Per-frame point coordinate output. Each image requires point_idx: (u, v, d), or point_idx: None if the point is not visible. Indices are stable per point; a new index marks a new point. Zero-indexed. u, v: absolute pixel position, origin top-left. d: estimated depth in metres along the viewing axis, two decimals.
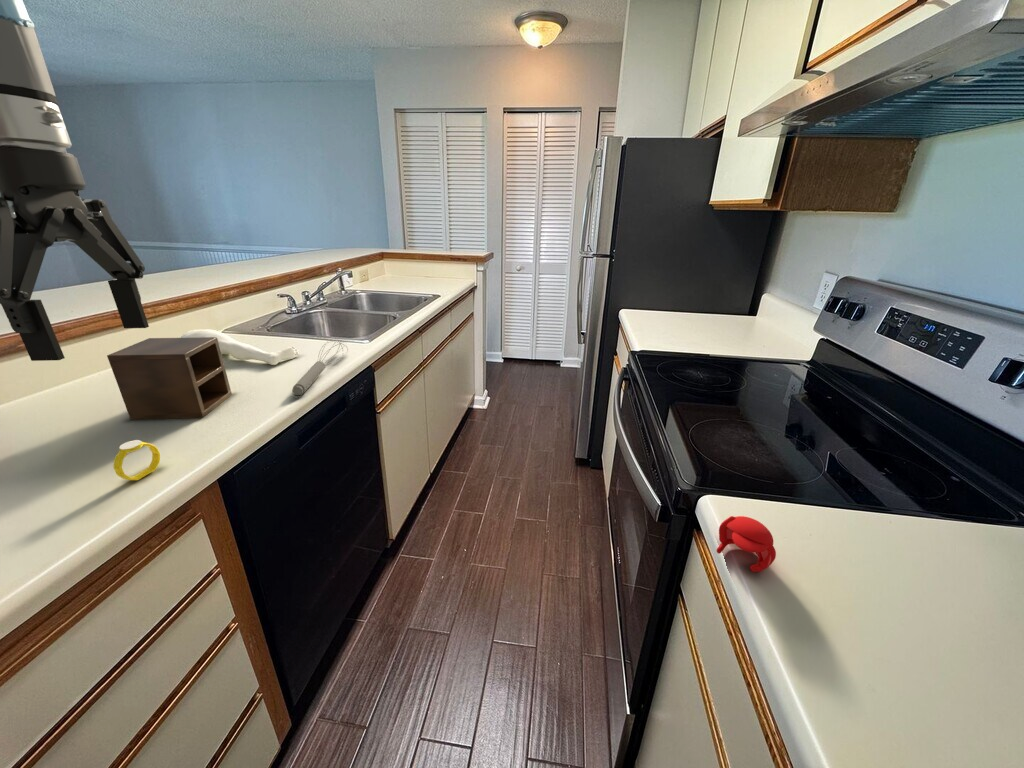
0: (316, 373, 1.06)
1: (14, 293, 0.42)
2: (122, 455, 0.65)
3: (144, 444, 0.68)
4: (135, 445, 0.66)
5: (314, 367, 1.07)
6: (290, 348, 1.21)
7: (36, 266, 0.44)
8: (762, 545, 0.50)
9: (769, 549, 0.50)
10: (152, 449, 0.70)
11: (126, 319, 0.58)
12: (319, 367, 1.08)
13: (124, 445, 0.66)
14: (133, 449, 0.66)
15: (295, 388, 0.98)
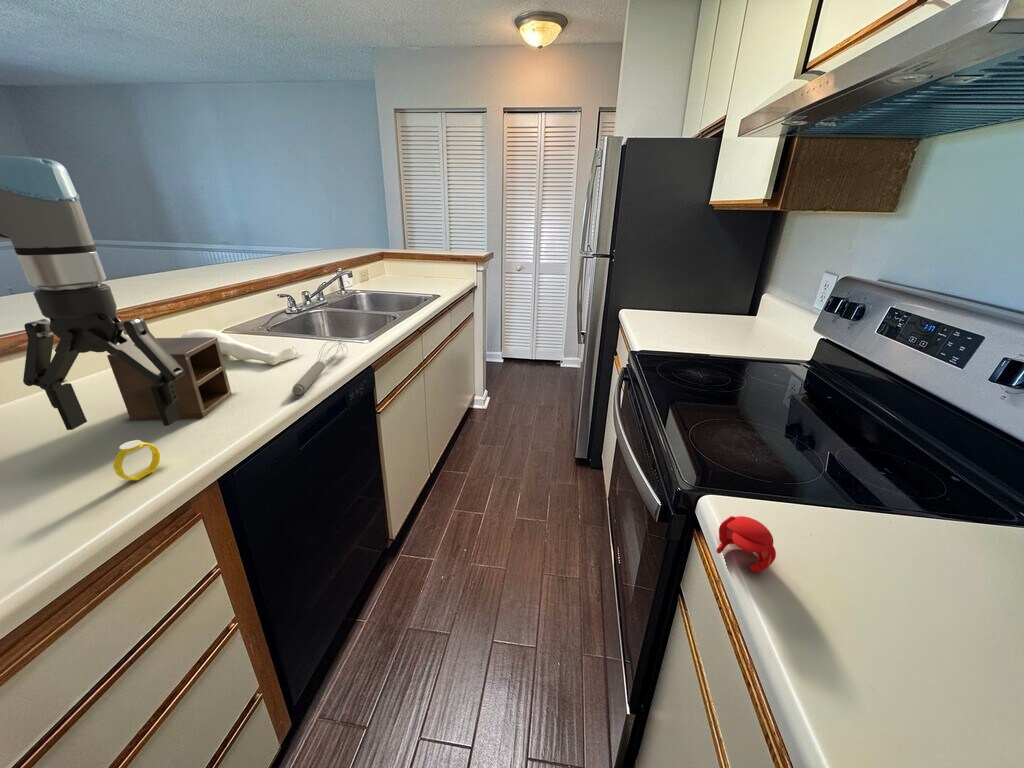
0: (316, 373, 1.06)
1: None
2: (122, 455, 0.65)
3: (144, 444, 0.68)
4: (135, 445, 0.66)
5: (314, 367, 1.07)
6: (290, 348, 1.21)
7: None
8: (762, 545, 0.50)
9: (769, 549, 0.50)
10: (152, 449, 0.70)
11: (73, 420, 0.64)
12: (319, 367, 1.08)
13: (124, 445, 0.66)
14: (133, 449, 0.66)
15: (295, 388, 0.98)
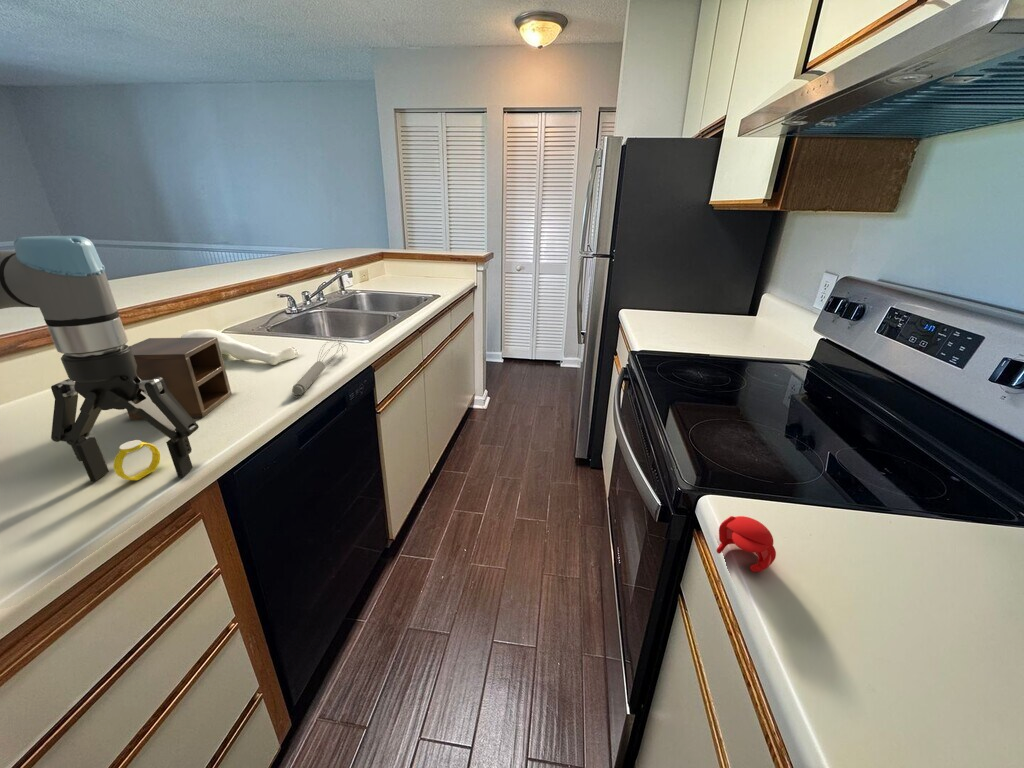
0: (316, 373, 1.06)
1: None
2: (122, 455, 0.65)
3: (144, 444, 0.68)
4: (135, 445, 0.66)
5: (314, 367, 1.07)
6: (290, 348, 1.21)
7: None
8: (762, 545, 0.50)
9: (769, 549, 0.50)
10: (152, 449, 0.70)
11: (96, 472, 0.67)
12: (318, 367, 1.08)
13: (124, 445, 0.66)
14: (133, 449, 0.66)
15: (295, 388, 0.98)
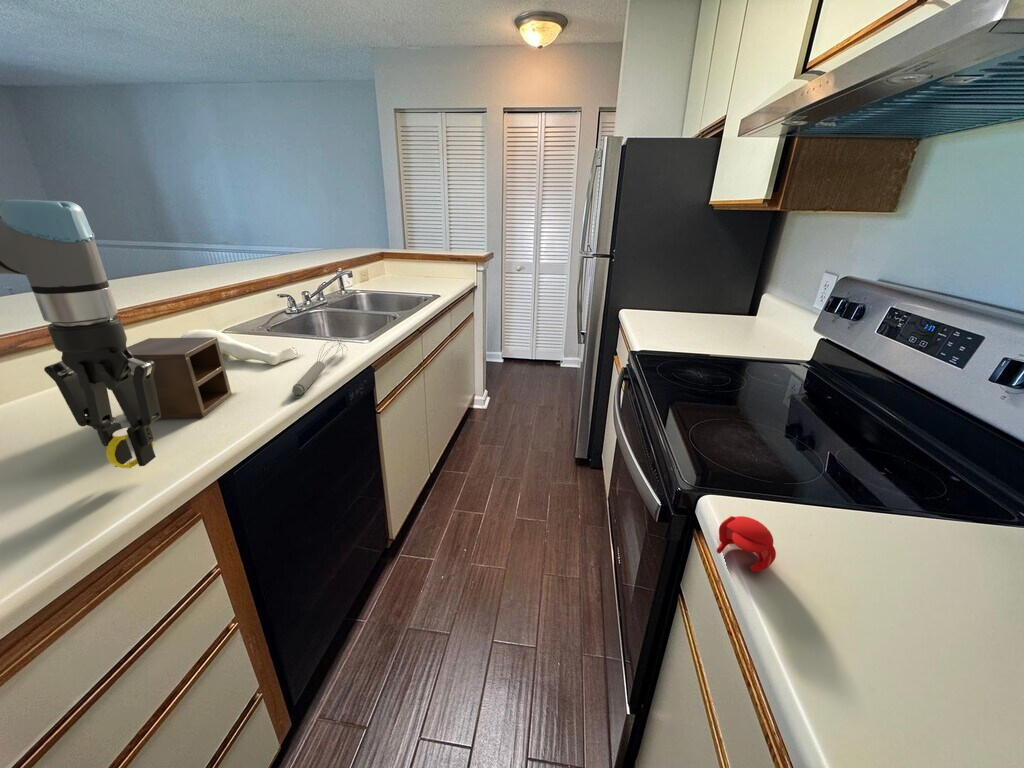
0: (316, 373, 1.06)
1: None
2: (115, 442, 0.64)
3: None
4: None
5: (314, 367, 1.07)
6: (290, 348, 1.21)
7: None
8: (762, 545, 0.50)
9: (769, 549, 0.50)
10: None
11: (121, 457, 0.67)
12: (318, 367, 1.08)
13: (117, 432, 0.65)
14: (127, 437, 0.65)
15: (295, 388, 0.98)
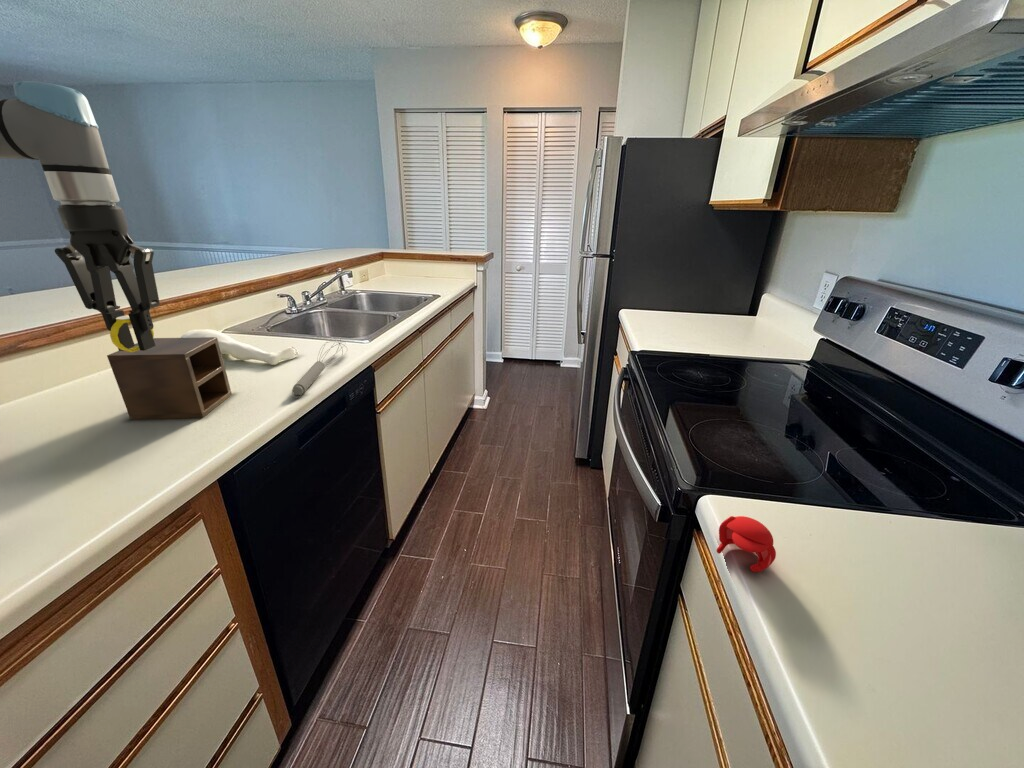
0: (316, 373, 1.06)
1: None
2: (118, 324, 0.71)
3: None
4: None
5: (314, 367, 1.07)
6: (290, 348, 1.21)
7: None
8: (762, 545, 0.50)
9: (769, 549, 0.50)
10: None
11: (124, 342, 0.73)
12: (318, 367, 1.08)
13: (120, 317, 0.72)
14: (129, 321, 0.71)
15: (295, 388, 0.98)
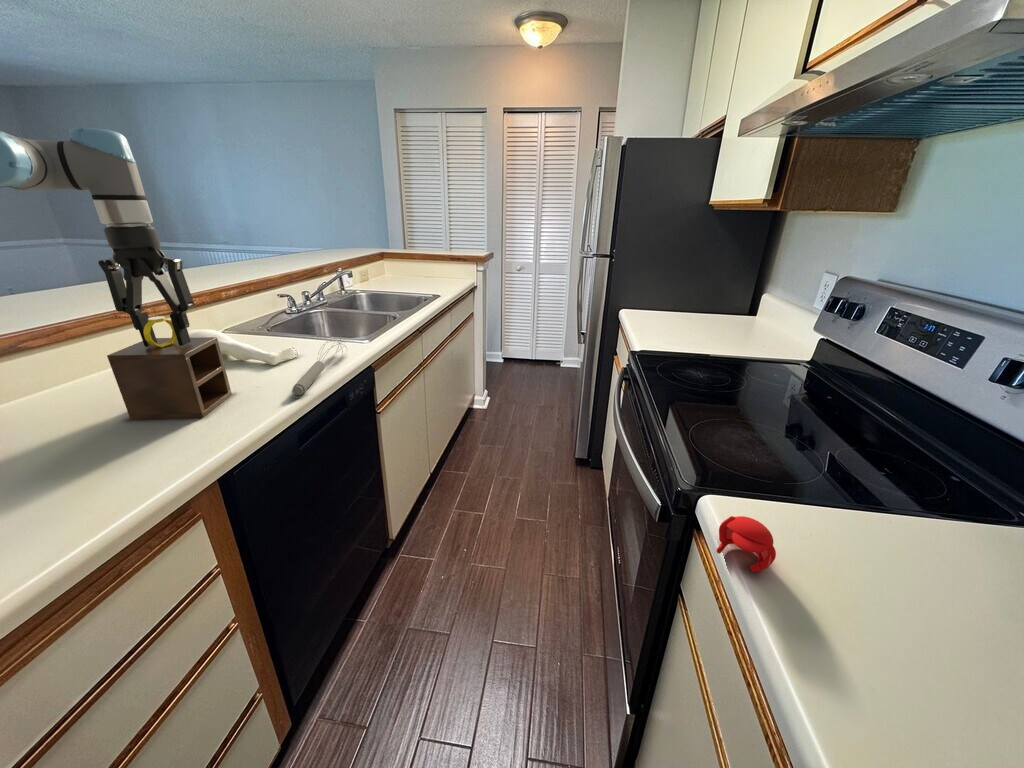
0: (316, 373, 1.06)
1: None
2: (150, 324, 0.84)
3: (166, 319, 0.87)
4: (160, 318, 0.85)
5: (314, 367, 1.07)
6: (290, 348, 1.21)
7: None
8: (762, 545, 0.50)
9: (769, 549, 0.50)
10: (172, 326, 0.88)
11: None
12: (318, 367, 1.08)
13: (151, 318, 0.85)
14: (158, 321, 0.85)
15: (295, 388, 0.98)
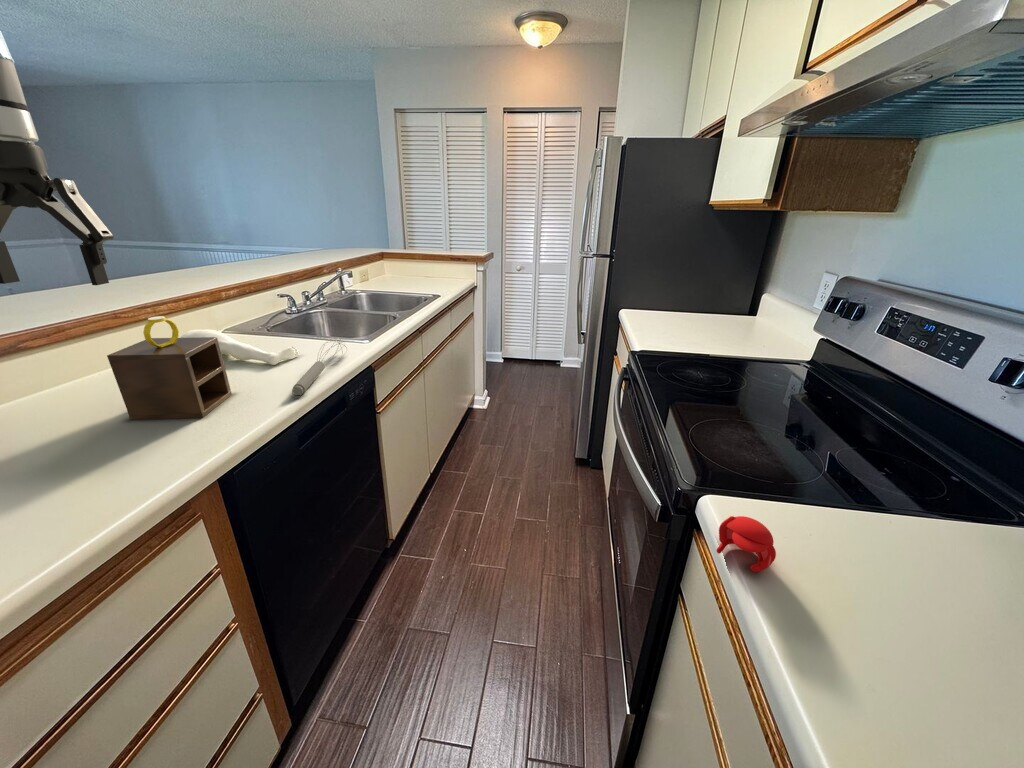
0: (316, 373, 1.06)
1: None
2: (150, 324, 0.84)
3: (166, 319, 0.87)
4: (160, 318, 0.85)
5: (314, 367, 1.07)
6: (290, 348, 1.21)
7: None
8: (762, 545, 0.50)
9: (769, 549, 0.50)
10: (172, 326, 0.88)
11: (5, 275, 0.70)
12: (318, 367, 1.08)
13: (151, 318, 0.85)
14: (158, 321, 0.85)
15: (295, 388, 0.98)
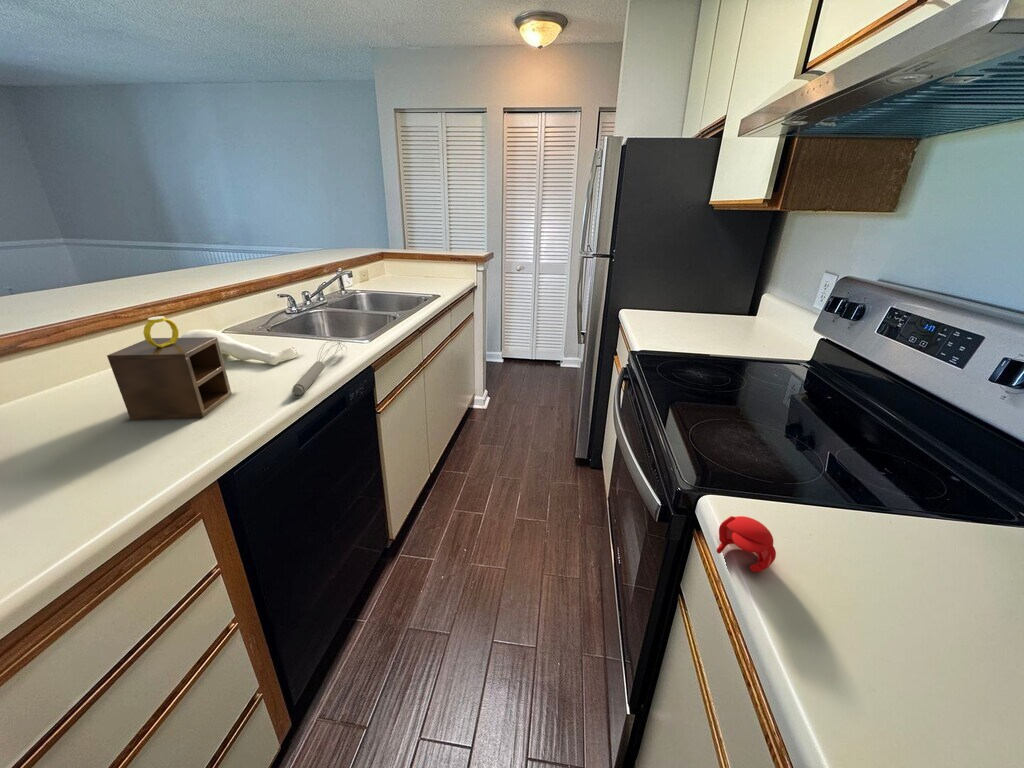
0: (315, 373, 1.06)
1: None
2: (150, 324, 0.84)
3: (166, 319, 0.87)
4: (160, 318, 0.85)
5: (313, 367, 1.07)
6: (290, 348, 1.21)
7: None
8: (762, 545, 0.50)
9: (769, 549, 0.50)
10: (172, 326, 0.88)
11: None
12: (318, 367, 1.08)
13: (151, 318, 0.85)
14: (159, 321, 0.85)
15: (295, 388, 0.98)
